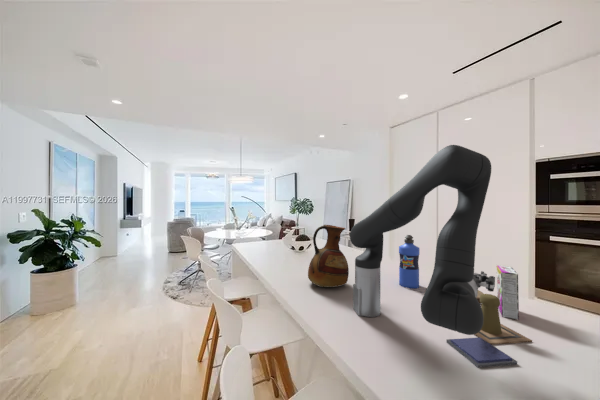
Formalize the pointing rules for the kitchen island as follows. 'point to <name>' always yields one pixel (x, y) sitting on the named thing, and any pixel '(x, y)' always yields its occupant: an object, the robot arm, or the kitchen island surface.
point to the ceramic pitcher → (329, 260)
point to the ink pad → (481, 352)
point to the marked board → (503, 337)
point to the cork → (490, 314)
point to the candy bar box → (508, 292)
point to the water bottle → (409, 264)
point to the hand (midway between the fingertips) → (465, 271)
